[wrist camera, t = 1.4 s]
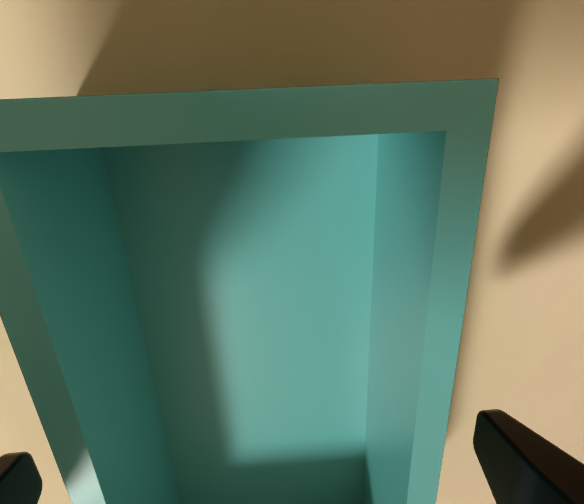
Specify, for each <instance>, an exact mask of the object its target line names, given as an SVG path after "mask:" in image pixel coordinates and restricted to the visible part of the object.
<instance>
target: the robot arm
mask: <svg viewBox="0 0 584 504" xmlns="http://www.w3.org/2000/svg"><path fill="white" fill-rule="evenodd" d="M473 445H474V450H475V453H476V455H477V458H478V460H479V463H480V465H481V467H482V470H483V472H484V475H485V477H486V479H487V482H488V484H489V487H490V489H491V491H492V494H493V496H494V499H495V501H496V503H497V504H584V464H583V463H581V462H580V461H578V460H577V459H575V458H574V457H572V456H571V455H569V454H568V453H566V452H564V451H563V450H561V449H560V448H558V447H557V446H555V445H554V444H552V443H551V442H549V441H548V440H546V439H545V438H543V437H542V436H540V435H539V434H537V433H536V432H534V431H533V430H531V429H529V428H528V427H526V426H525V425H523V424H522V423H520V422H519V421H517V420H516V419H514V418H513V417H511V416H510V415H508V414H507V413H505V412H503V411H501V410H498V409H493V410H482V411H480V412H479V413H478V415H477V419H476V425H475V431H474V437H473ZM41 491H42V479H41V476H40V474H39V472H38V469H37V467H36V465H35V462H34V460H33V458H32V456H31V454H29V453H28V452H17V453H8V454H5V455H3V456H1V457H0V504H37V503H38V500H39V498H40V495H41Z"/></svg>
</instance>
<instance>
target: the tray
mask: <svg viewBox="0 0 584 504" xmlns="http://www.w3.org/2000/svg"><path fill="white" fill-rule="evenodd" d="M498 82H499V78H494V79H471V80H447V81H424V82H400V83H377V84H353V85H330V86H306V87H283V88H259V89H236V90H212V91H188V92H165V93H141V94H118V95H94V96H71V97H47V98H24V99H0V316H1V319H2V321H3V324H4V327H5V329H6V332H7V334H8V337H9V340H10V342H11V345H12V348H13V350H14V353H15V355H16V358H17V361H18V363H19V366H20V369H21V371H22V374H23V376H24V379H25V382H26V384H27V387H28V390H29V392H30V395H31V397H32V400H33V403H34V405H35V408H36V410H37V413H38V416H39V418H40V421H41V424H42V426H43V429H44V431H45V434H46V437H47V439H48V442H49V445H50V447H51V450H52V452H53V455H54V458H55V460H56V463H57V465H58V468H59V471H60V473H61V476H62V479H63V481H64V484H65V486H66V489H67V492H68V494H69V497H70V500H71V502H72V504H436V498H437V491H438V484H439V477H440V471H441V464H442V457H443V451H444V444H445V437H446V430H447V424H448V417H449V410H450V404H451V397H452V390H453V384H454V377H455V370H456V363H457V357H458V350H459V343H460V337H461V330H462V323H463V317H464V310H465V303H466V296H467V290H468V283H469V276H470V270H471V263H472V256H473V250H474V243H475V236H476V229H477V223H478V216H479V209H480V203H481V196H482V189H483V183H484V176H485V169H486V162H487V156H488V149H489V142H490V136H491V129H492V122H493V116H494V109H495V102H496V95H497V89H498Z"/></svg>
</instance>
